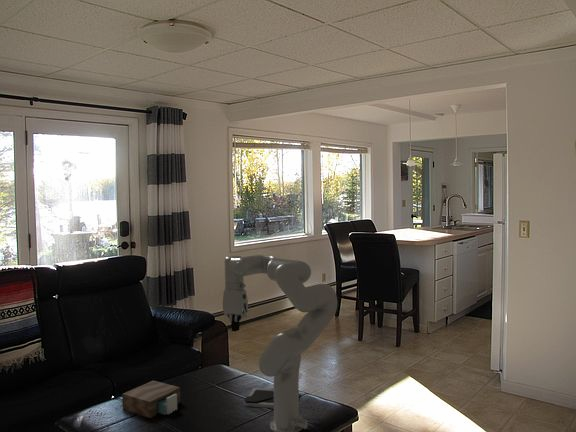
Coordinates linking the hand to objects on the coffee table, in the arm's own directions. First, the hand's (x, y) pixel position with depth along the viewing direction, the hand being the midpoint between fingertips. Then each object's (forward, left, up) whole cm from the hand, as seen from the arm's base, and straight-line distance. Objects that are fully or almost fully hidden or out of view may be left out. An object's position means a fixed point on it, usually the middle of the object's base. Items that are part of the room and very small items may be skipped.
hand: (235, 330), depth 200 cm
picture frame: (-8, -15, -34) cm, 37 cm away
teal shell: (+29, +15, -33) cm, 46 cm away
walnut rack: (+33, +15, -33) cm, 49 cm away
